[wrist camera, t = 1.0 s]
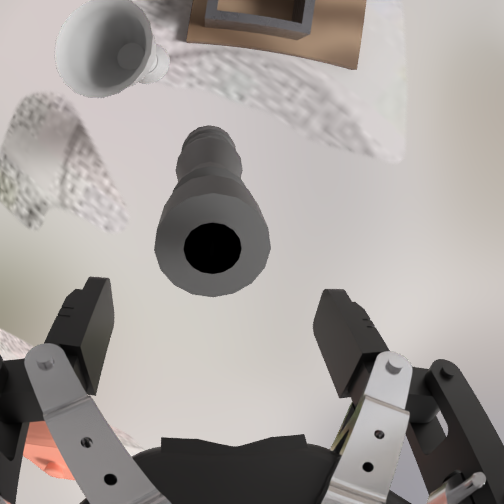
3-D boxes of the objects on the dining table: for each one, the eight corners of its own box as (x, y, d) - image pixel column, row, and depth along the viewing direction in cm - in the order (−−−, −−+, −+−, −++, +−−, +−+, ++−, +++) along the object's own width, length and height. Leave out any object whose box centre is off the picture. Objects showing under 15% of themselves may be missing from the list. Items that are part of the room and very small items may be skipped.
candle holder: (171, 151, 37) (123, 250, 15) (209, 114, 35) (213, 159, 14) (207, 185, 40) (213, 319, 18) (245, 151, 38) (300, 248, 16)
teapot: (137, 443, 67) (133, 505, 51) (63, 440, 65) (53, 495, 50) (93, 383, 54) (77, 460, 39) (12, 382, 53) (-11, 445, 37)
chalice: (186, 79, 33) (168, 71, 17) (132, 102, 33) (74, 116, 18) (166, 25, 29) (133, -21, 14) (112, 49, 30) (43, 27, 14)
